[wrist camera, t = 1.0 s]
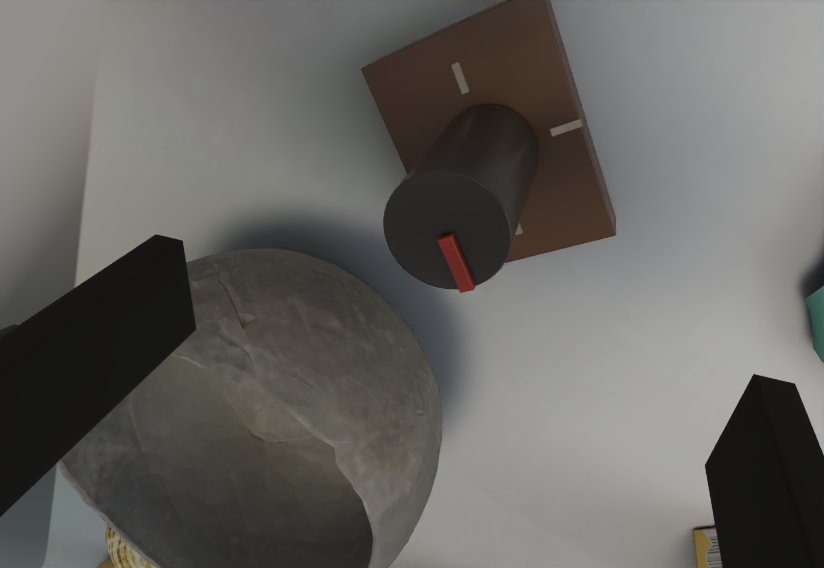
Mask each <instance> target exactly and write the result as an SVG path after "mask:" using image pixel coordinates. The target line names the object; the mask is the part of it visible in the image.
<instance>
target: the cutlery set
mask: <svg viewBox="0 0 824 568" xmlns="http://www.w3.org/2000/svg"><path fill="white" fill-rule="evenodd" d="M805 300H806V303H807V307H808V310H809V313H810V317H811V323H812V329H813V348H814V350H815V351H816V353H817V355H818V356H819V358H820V359H821V361H822V362H823V363H824V285H823V286H822V287H821V288H820V289H819V290H817V291H816V292H814V293H813V294H811V295H810V296H809V297H808V298H807V299H805Z"/></svg>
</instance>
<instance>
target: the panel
mask: <svg viewBox="0 0 824 568" xmlns="http://www.w3.org/2000/svg"><path fill="white" fill-rule="evenodd" d="M361 71H362V73H363V75H364V77H365V80H366V82H367V84H368V86H369V89H370V91H371V93H372V95H373V98H374V100H375V102H376V104H377V107H378V109H379V111H380V113H381V116H382V118H383V120H384V122H385V125H386V127H387V129H388V131H389V134H390V136H391V138H392V140H393V143H394V145H395V147H396V149H397V152H398V154H399V156H400V158H401V161H402V163H403V165H404V167H405V170H406V172H407V174H408V173H409V172H410V171H411V170H412V168H413V167H414V166H415V165H416V164H417V162H418V161H419V160H420V159H421V158H422V156H423V155H424V154H425V153H426V152H427V150H428V149H429V148H430V147H431V146H432V144H433V143H434V142H435V141H436V140H437V138H438V137H439V136H440V135H441V134H442V132H443V131H444V130H445V129H446V128H447V126H448V125H449V124H450V123H451V122H452V121H453V119H454V118H455V117H456V116H458V115H459V114H460V113H462V112H463V111H465V110H467V109H469V108H471V107H474V106H477V105H483V104H495V105H500V106H504V107H507V108H509V109H511V110H513V111H515V112H517V113H518V114H519V115H521V116H522V117H523V118H524V119H525V120H526V121H527V122H528V123H529V125H530V126H531V128H532V129H533V131H534V133H535V135H536V138H537V142H538V147H539V160H538V165H537V168H536V172H535V175H534V178H533V181H532V184H531V187H530V190H529V194H528V197H527V200H526V203H525V206H524V209H523V212H522V215H521V218H520V222H519V225H518V228H517V231H516V234H515V237H514V240H513V243H512V247H511V250H510V253H509V255H508V258H507V260H506V262H510V261H515V260H519V259H523V258H527V257H531V256H535V255H539V254H543V253H547V252H551V251H555V250H559V249H563V248H567V247H571V246H575V245H579V244H583V243H587V242H591V241H595V240H599V239H603V238H607V237H611V236H615V235H616V217H615V214H614V211H613V207H612V204H611V201H610V197H609V194H608V191H607V188H606V184H605V181H604V178H603V174H602V171H601V168H600V164H599V161H598V158H597V155H596V151H595V148H594V145H593V141H592V138H591V135H590V131H589V128H588V125H587V122H586V118H585V115H584V112H583V108H582V105H581V102H580V98H579V95H578V92H577V88H576V85H575V82H574V79H573V75H572V72H571V69H570V65H569V62H568V59H567V55H566V52H565V49H564V46H563V42H562V39H561V36H560V32H559V29H558V26H557V22H556V19H555V16H554V13H553V9H552V6H551V3H550V0H505V1H503V2H500V3H498V4H496V5H494V6H492V7H490V8H487V9H485V10H483V11H481V12H479V13H477V14H474V15H472V16H470V17H468V18H466V19H464V20H462V21H459V22H457V23H455V24H453V25H451V26H449V27H446V28H444V29H442V30H440V31H438V32H436V33H433V34H431V35H429V36H427V37H425V38H423V39H420V40H418V41H416V42H414V43H412V44H410V45H407V46H405V47H403V48H401V49H399V50H397V51H394V52H392V53H390V54H388V55H386V56H384V57H381V58H379V59H377V60H375V61H373V62H371V63H370V64H368V65H366V66H364V67H362V68H361ZM506 262H505V263H506Z"/></svg>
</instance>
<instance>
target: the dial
mask: <svg viewBox="0 0 824 568" xmlns="http://www.w3.org/2000/svg"><path fill="white" fill-rule="evenodd" d="M538 160H539V147H538V142H537V138H536V135H535V133H534V131H533V129H532V128H531V126H530V125H529V123H528V122H527V121H526V120H525V119H524V118H523V117H522V116H521V115H519V114H518V113H517V112H515V111H513V110H511V109H509V108H507V107H504V106H500V105H495V104H483V105H477V106H474V107H471V108H469V109H467V110H465V111H463V112H462V113H460V114H459V115H458V116H456V117H455V118H454V119H453V121H452V122H451V123H450V124H449V125H448V126H447V128H446V129H445V130H444V131H443V132H442V134H441V135H440V136H439V137H438V138H437V140H436V141H435V142H434V143H433V144H432V146H431V147H430V148H429V149H428V150H427V152H426V153H425V154H424V155H423V156H422V158H421V159H420V160H419V161H418V162H417V164H416V165H415V166H414V167H413V168H412V170H411V171H410V172H409V173H408V174H407V176H406V177H405V178H404V179H403V180H402V182H401V183H400V184H399V185H398V186H397V188H396V189H395V190H394V191H393V193H392V194H391V196H390V198H389V200H388V202H387V204H386V208H385V211H384V219H383V226H384V234H385V238H386V242H387V244H388V247H389V249H390V251H391V253H392V254H393V256H394V258H395V259H396V260H397V262H398V263H399V264H400V265H401V266H402V267H403V268H404V269H405V270H406V271H407V272H408V273H409V274H411V275H412V276H414V277H415V278H417V279H418V280H420V281H422V282H424V283H426V284H429V285H432V286H435V287H438V288H444V289H459V290H460V292H461V293H462V292H466V291H471V290H474V288H475V286H477V285H479V284H481V283H483V282H485V281H487V280H488V279H490V278H491V277H493V276H494V275H495V274H496V273H497V272H498V271H499V270H500V269H501V268H502V266H503V265H504V263H505V262H506V260H507V258H508V255H509V253H510V250H511V247H512V243H513V240H514V237H515V234H516V231H517V228H518V225H519V222H520V218H521V215H522V212H523V209H524V206H525V203H526V200H527V197H528V194H529V190H530V187H531V184H532V181H533V178H534V175H535V172H536V168H537V165H538Z"/></svg>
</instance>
